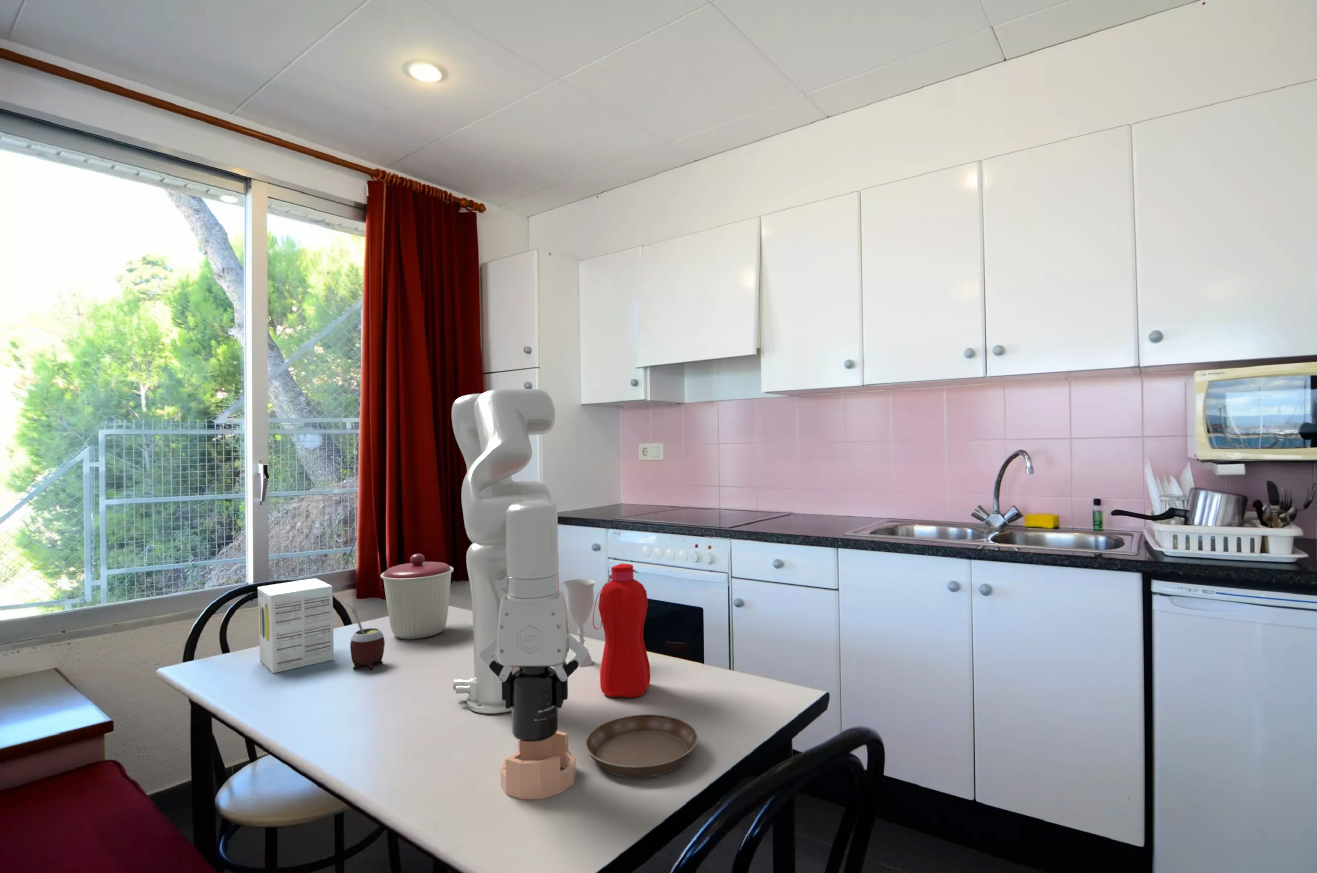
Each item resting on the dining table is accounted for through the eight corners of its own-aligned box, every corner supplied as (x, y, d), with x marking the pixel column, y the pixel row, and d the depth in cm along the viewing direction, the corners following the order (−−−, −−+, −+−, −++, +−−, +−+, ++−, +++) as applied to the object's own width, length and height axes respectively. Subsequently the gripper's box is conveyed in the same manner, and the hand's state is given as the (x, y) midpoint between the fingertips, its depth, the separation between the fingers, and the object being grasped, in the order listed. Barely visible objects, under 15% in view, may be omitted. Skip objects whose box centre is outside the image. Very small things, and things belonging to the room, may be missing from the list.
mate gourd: (388, 667, 150) (386, 600, 150) (349, 675, 145) (348, 606, 146) (380, 658, 156) (379, 594, 156) (343, 666, 152) (342, 600, 152)
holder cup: (493, 800, 93) (492, 764, 93) (511, 763, 104) (510, 730, 104) (569, 798, 93) (568, 762, 93) (579, 761, 104) (578, 729, 104)
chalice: (604, 660, 150) (601, 580, 150) (585, 670, 145) (582, 587, 145) (578, 655, 154) (576, 577, 154) (559, 664, 148) (556, 583, 148)
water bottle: (601, 680, 138) (598, 559, 138) (653, 683, 136) (649, 560, 136) (587, 698, 129) (584, 568, 129) (643, 701, 127) (639, 569, 127)
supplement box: (258, 660, 157) (256, 586, 157) (318, 647, 166) (316, 577, 166) (272, 674, 148) (269, 595, 148) (335, 659, 156) (333, 585, 156)
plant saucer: (608, 797, 94) (607, 775, 94) (572, 745, 110) (571, 727, 110) (718, 768, 101) (718, 748, 101) (669, 724, 117) (669, 706, 117)
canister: (367, 643, 168) (365, 560, 168) (406, 623, 186) (404, 548, 186) (434, 645, 165) (431, 560, 165) (467, 624, 183) (464, 548, 183)
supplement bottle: (549, 745, 95) (547, 662, 95) (504, 741, 97) (502, 659, 96) (565, 724, 102) (563, 646, 102) (523, 720, 103) (521, 643, 103)
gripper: (467, 593, 95) (469, 716, 96) (588, 592, 95) (590, 715, 95) (481, 579, 102) (484, 694, 103) (594, 578, 102) (596, 693, 103)
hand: (535, 703), depth 99 cm, fingers closed on supplement bottle, 6 cm apart
